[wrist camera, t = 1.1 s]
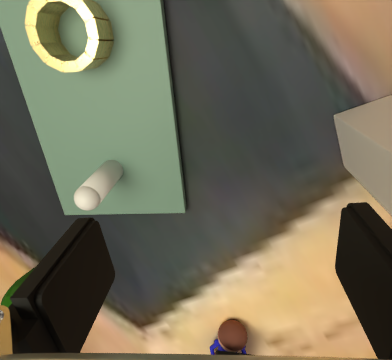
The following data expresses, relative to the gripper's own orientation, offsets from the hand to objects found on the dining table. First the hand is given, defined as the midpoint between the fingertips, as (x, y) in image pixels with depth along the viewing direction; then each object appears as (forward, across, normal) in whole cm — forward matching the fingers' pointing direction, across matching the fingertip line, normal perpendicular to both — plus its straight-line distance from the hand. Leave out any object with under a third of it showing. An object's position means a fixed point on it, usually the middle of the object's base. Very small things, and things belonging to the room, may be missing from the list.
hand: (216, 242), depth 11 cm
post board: (+25, +15, -2) cm, 29 cm away
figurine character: (+26, +2, +44) cm, 51 cm away
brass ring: (+24, +14, -10) cm, 29 cm away
